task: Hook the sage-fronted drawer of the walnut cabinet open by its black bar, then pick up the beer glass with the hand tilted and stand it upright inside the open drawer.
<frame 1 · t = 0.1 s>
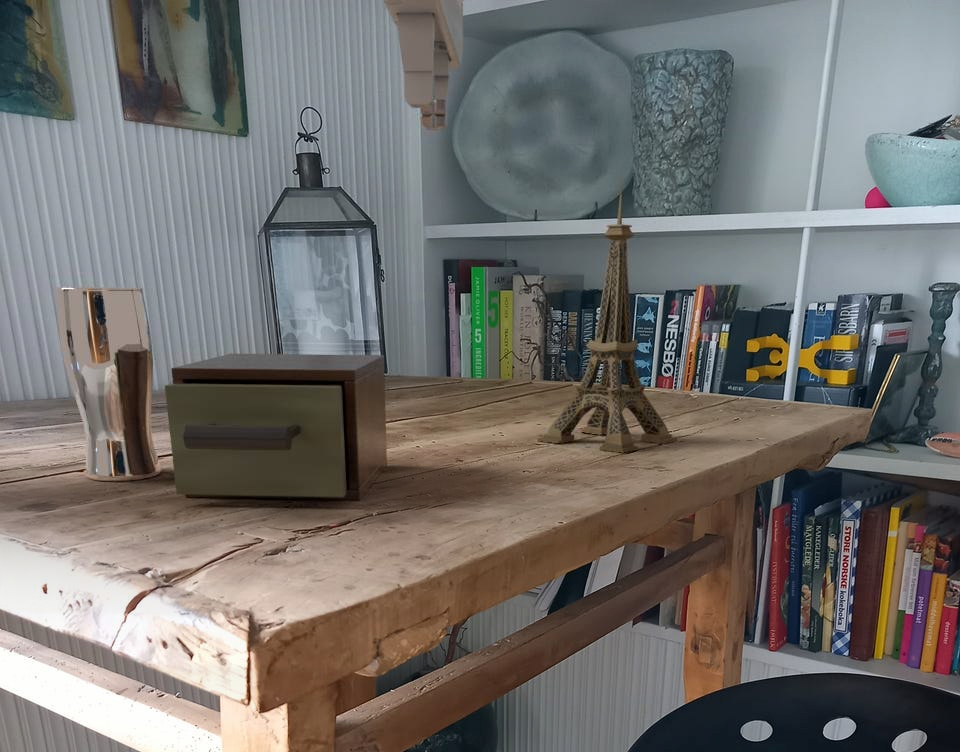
hand: (427, 118, 64), 26 cm above the table, tool pointing down, fingers open, 8 cm apart
beer glass: (124, 476, 80), on the table
eiffel tower: (607, 442, 99), on the table
cabinet: (294, 479, 78), on the table
drawer: (271, 433, 71), point 5 cm above the table, slide at 2.0 cm
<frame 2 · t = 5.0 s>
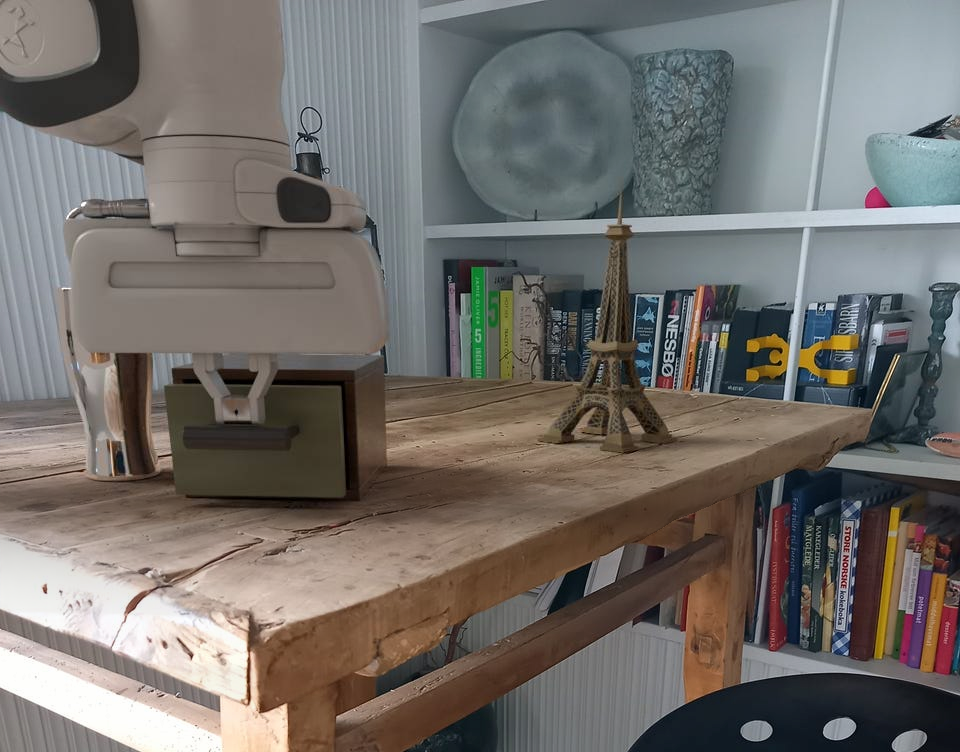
hand: (241, 423, 63), 7 cm above the table, tool pointing down, fingers closed, pressing on drawer
drawer: (270, 433, 71), point 5 cm above the table, slide at 2.2 cm, touching gripper
everything else where it was.
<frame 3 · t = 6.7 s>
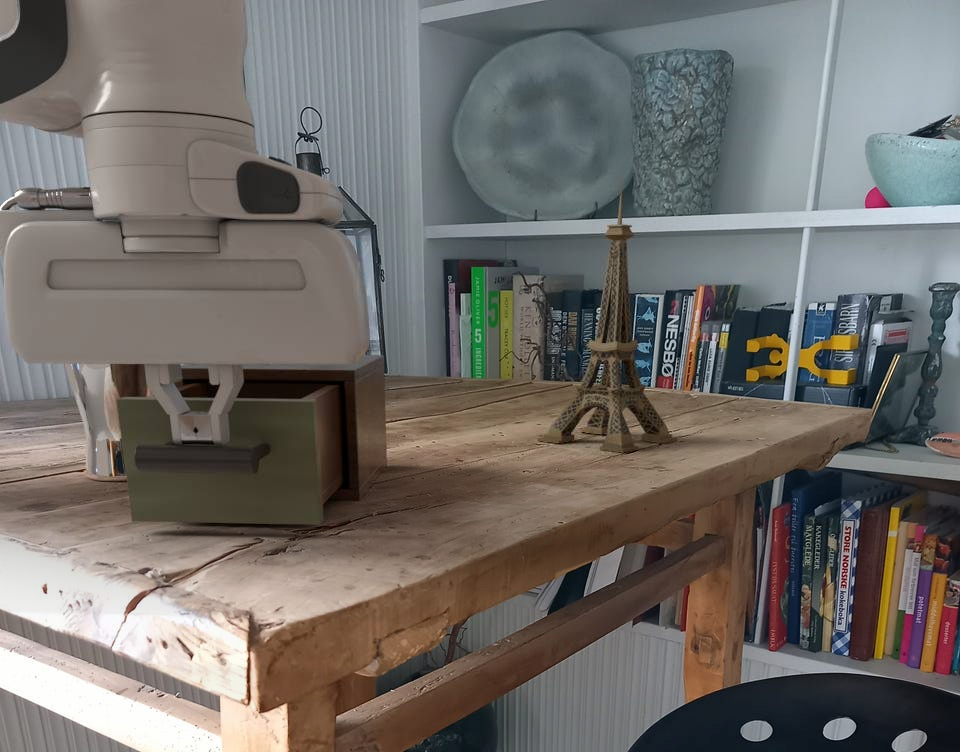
hand: (203, 443, 56), 7 cm above the table, tool pointing down, fingers closed, pressing on drawer
drawer: (239, 451, 63), point 5 cm above the table, slide at 10.2 cm, touching gripper
everything else where it was.
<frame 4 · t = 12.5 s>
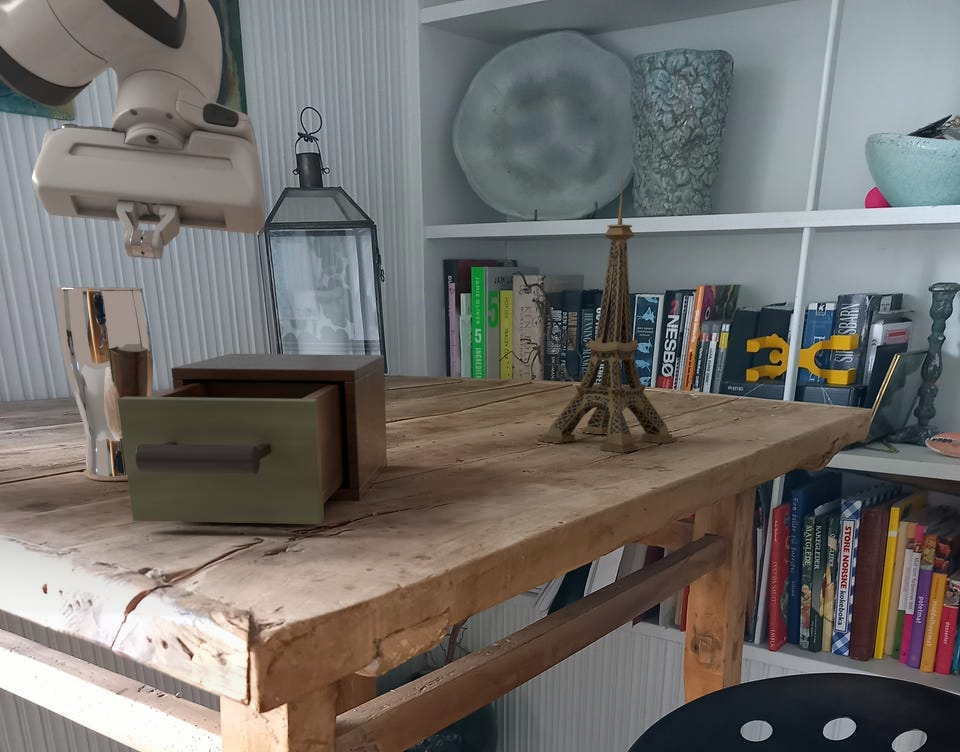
hand: (142, 253, 83), 18 cm above the table, tool tilted 40°, fingers closed
drawer: (240, 451, 63), point 5 cm above the table, slide at 10.1 cm
everything else where it was.
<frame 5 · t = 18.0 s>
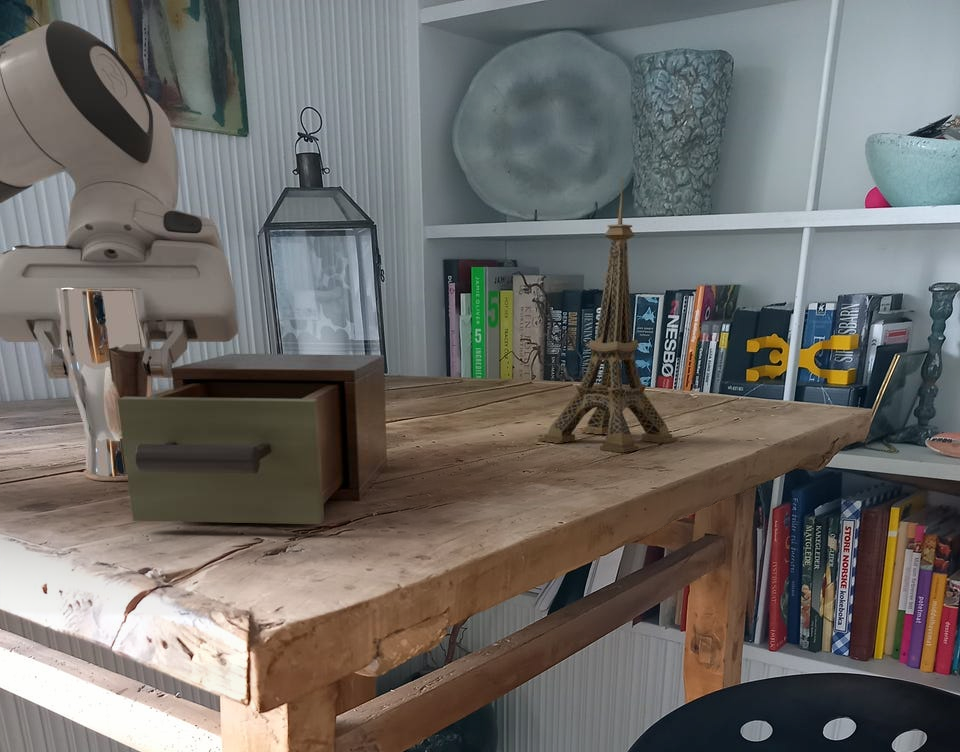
hand: (109, 373, 76), 8 cm above the table, tool tilted 45°, fingers closed on beer glass, 7 cm apart
beer glass: (124, 476, 80), on the table, touching gripper
everything else where it was.
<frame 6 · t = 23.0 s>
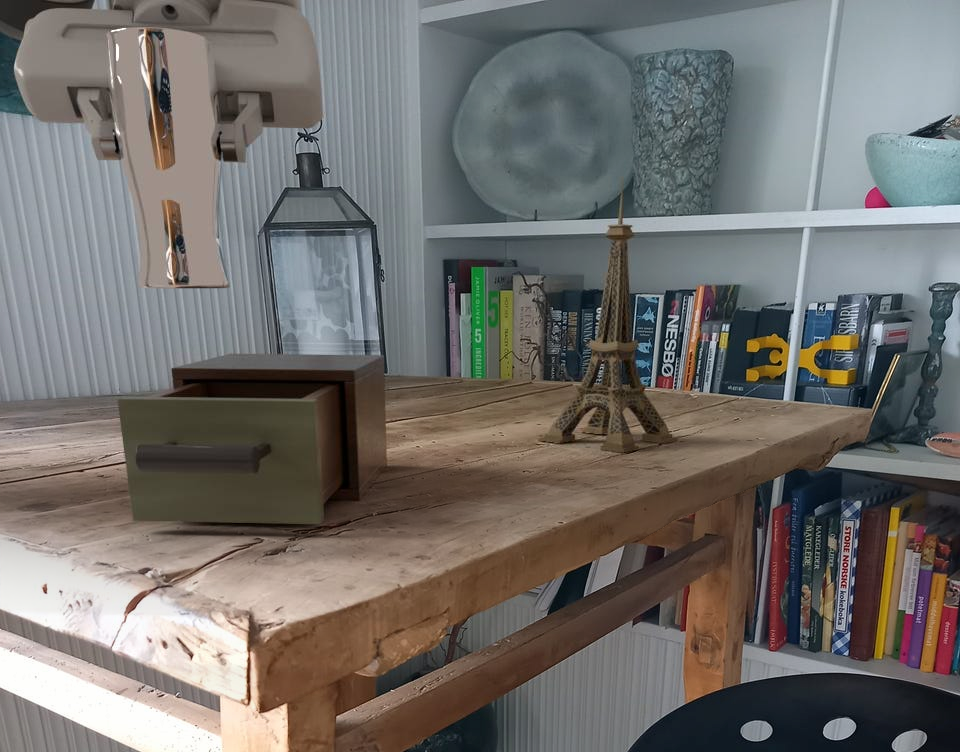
hand: (170, 152, 62), 24 cm above the table, tool tilted 45°, fingers closed on beer glass, 7 cm apart
beer glass: (185, 291, 66), point 15 cm above the table, touching gripper
everything else where it was.
when the fingers open (10 cm above the table, at t = 28.0 s): beer glass stays where it is, resting on drawer.
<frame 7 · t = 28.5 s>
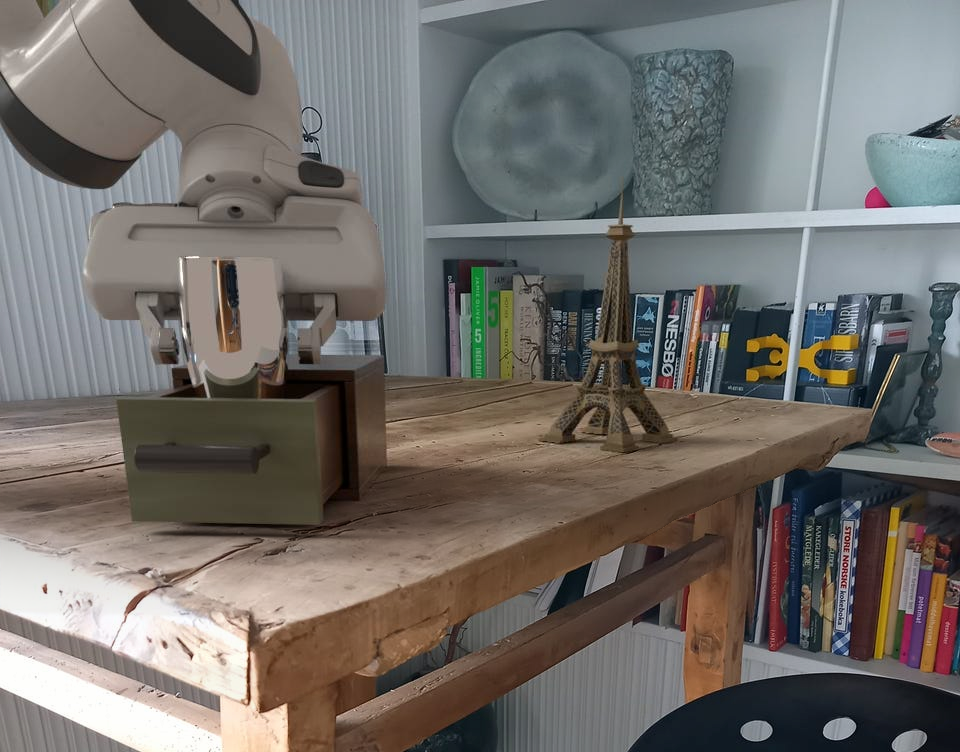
hand: (237, 358, 62), 11 cm above the table, tool tilted 45°, fingers open, 8 cm apart
beer glass: (248, 490, 66), point 2 cm above the table, touching drawer
drawer: (239, 451, 63), point 5 cm above the table, slide at 10.2 cm, touching beer glass
everything else where it was.
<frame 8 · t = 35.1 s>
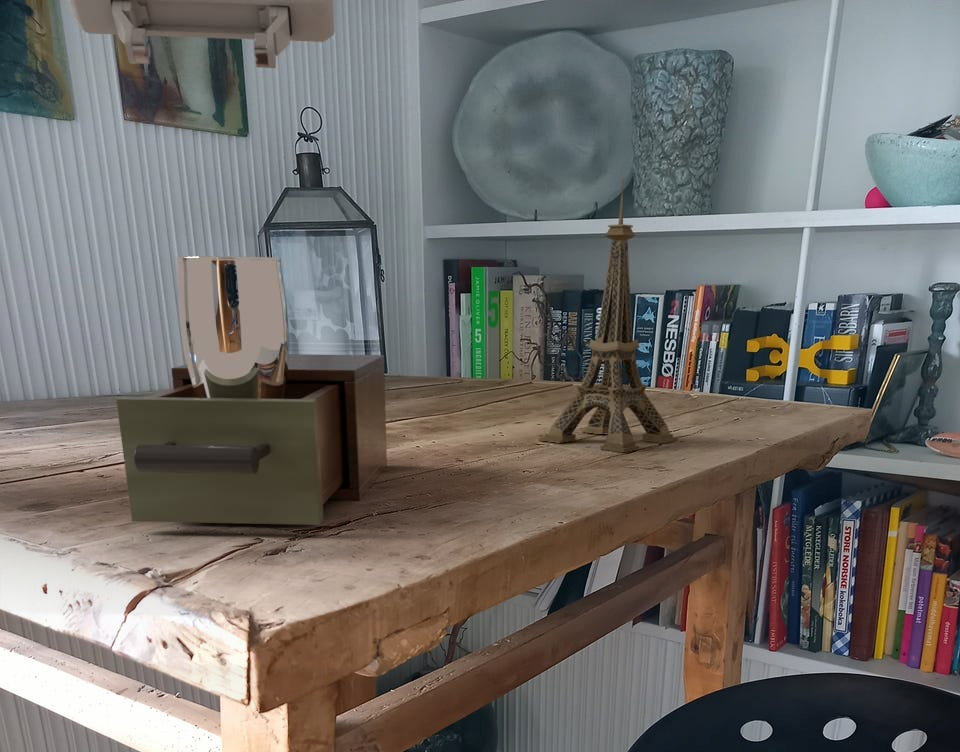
hand: (201, 57, 70), 31 cm above the table, tool tilted 45°, fingers open, 8 cm apart
nothing on the table moved.
at the end: drawer slide at 10.2 cm; beer glass inside the target area in the drawer (0.5 cm from its centre), point 1.8 cm above the cabinet's base; beer glass tilted 0° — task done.
